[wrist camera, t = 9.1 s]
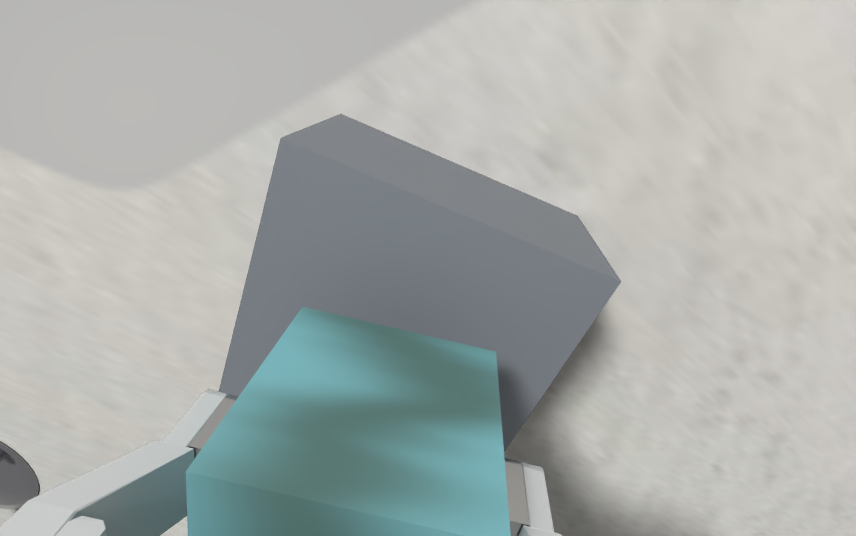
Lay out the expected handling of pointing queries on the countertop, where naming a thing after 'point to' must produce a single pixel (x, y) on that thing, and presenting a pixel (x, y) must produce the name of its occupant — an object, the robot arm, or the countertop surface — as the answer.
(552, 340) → the charcoal block
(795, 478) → the countertop surface
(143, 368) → the countertop surface
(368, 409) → the teal block
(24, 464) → the wine glass
